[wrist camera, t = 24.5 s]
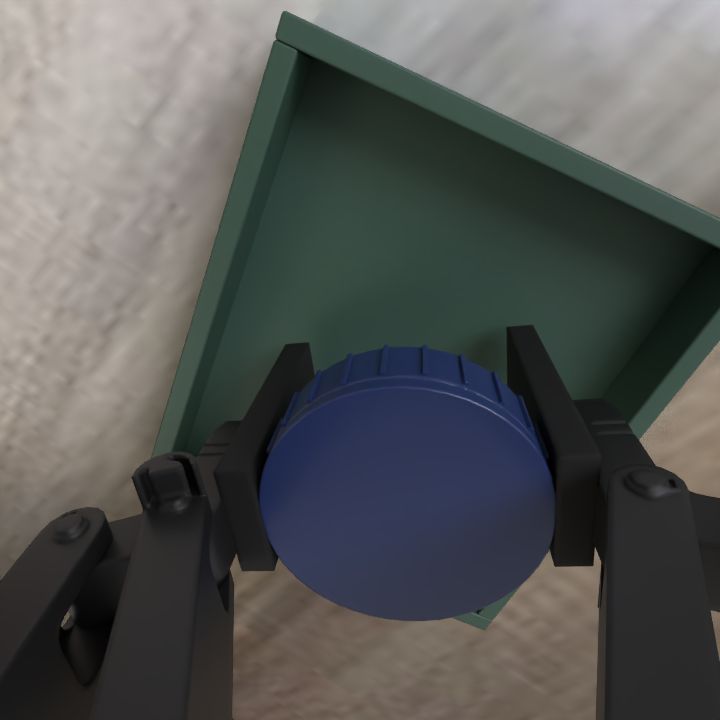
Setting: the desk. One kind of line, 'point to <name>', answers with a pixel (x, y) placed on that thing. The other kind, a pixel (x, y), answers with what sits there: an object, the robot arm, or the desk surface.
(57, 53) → the desk surface
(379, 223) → the tray
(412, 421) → the jar lid
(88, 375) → the desk surface
